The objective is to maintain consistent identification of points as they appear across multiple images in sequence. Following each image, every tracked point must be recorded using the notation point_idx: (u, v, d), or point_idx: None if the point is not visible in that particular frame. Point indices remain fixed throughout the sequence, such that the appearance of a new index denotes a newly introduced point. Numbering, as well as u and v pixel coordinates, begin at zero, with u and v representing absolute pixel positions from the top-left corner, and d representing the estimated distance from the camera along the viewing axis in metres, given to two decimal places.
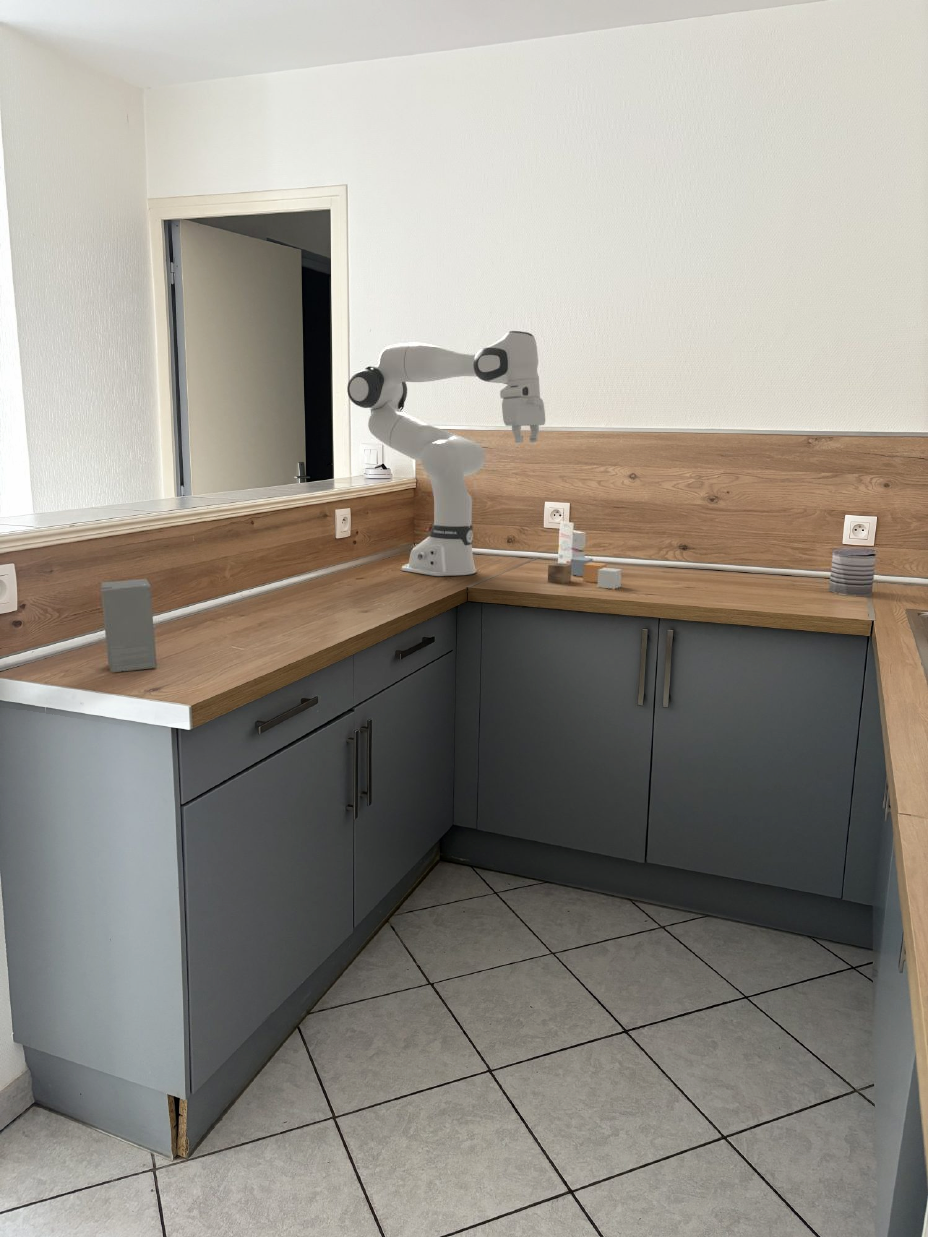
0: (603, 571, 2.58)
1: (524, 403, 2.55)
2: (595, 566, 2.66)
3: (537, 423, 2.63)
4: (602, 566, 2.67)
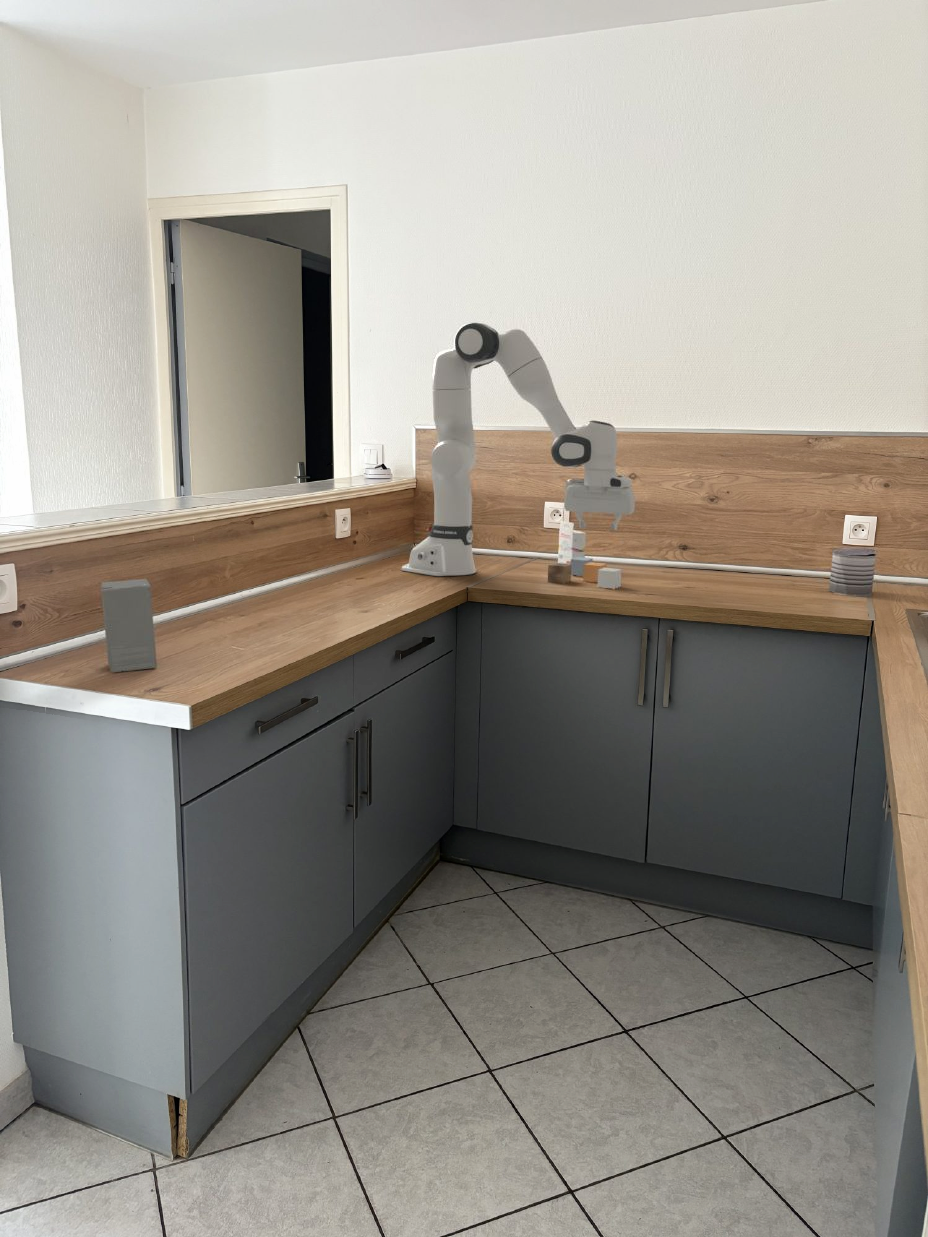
0: (603, 571, 2.58)
1: None
2: (595, 566, 2.66)
3: None
4: (602, 566, 2.67)
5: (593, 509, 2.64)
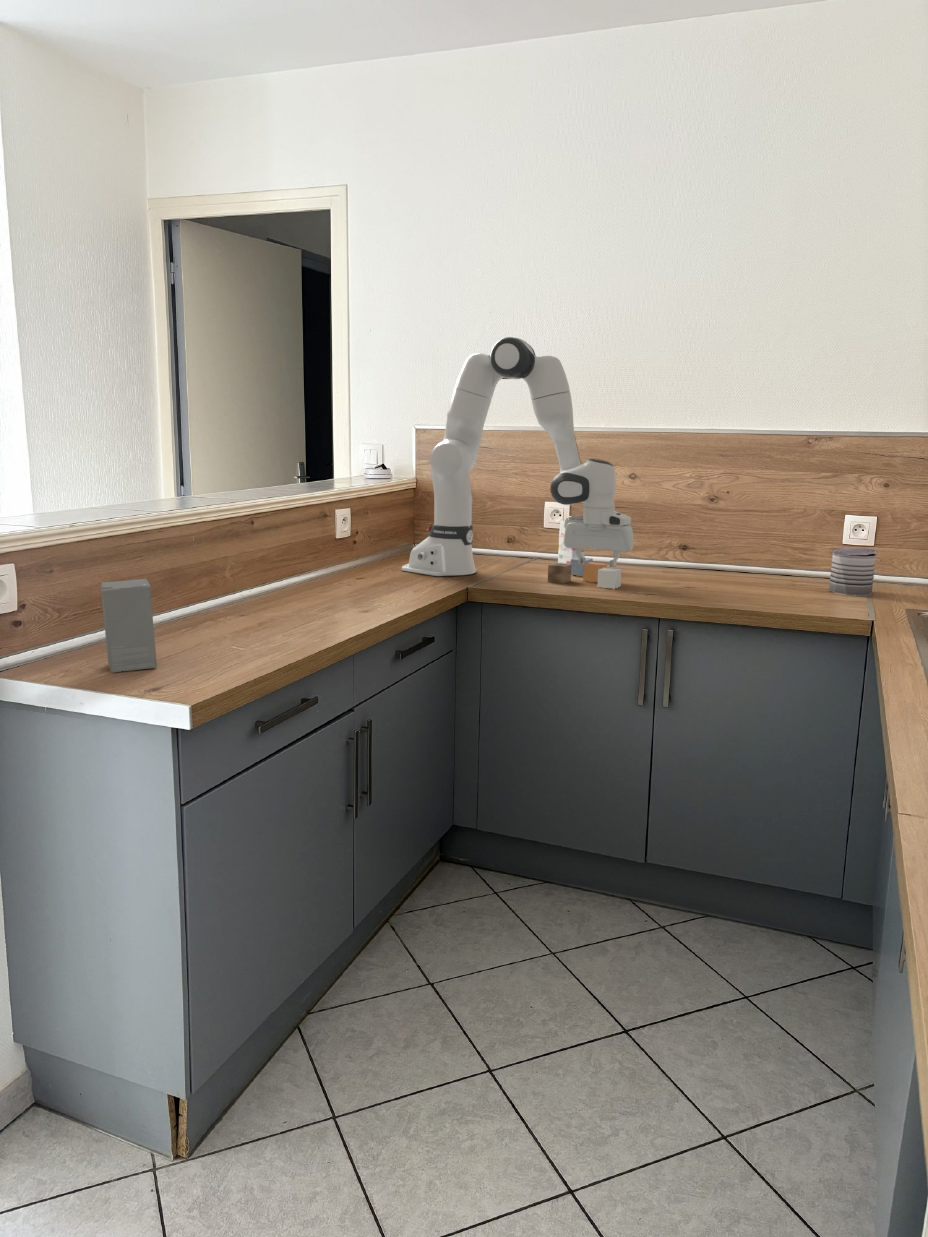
0: (603, 571, 2.58)
1: None
2: (595, 566, 2.66)
3: None
4: (602, 566, 2.67)
5: (592, 546, 2.67)
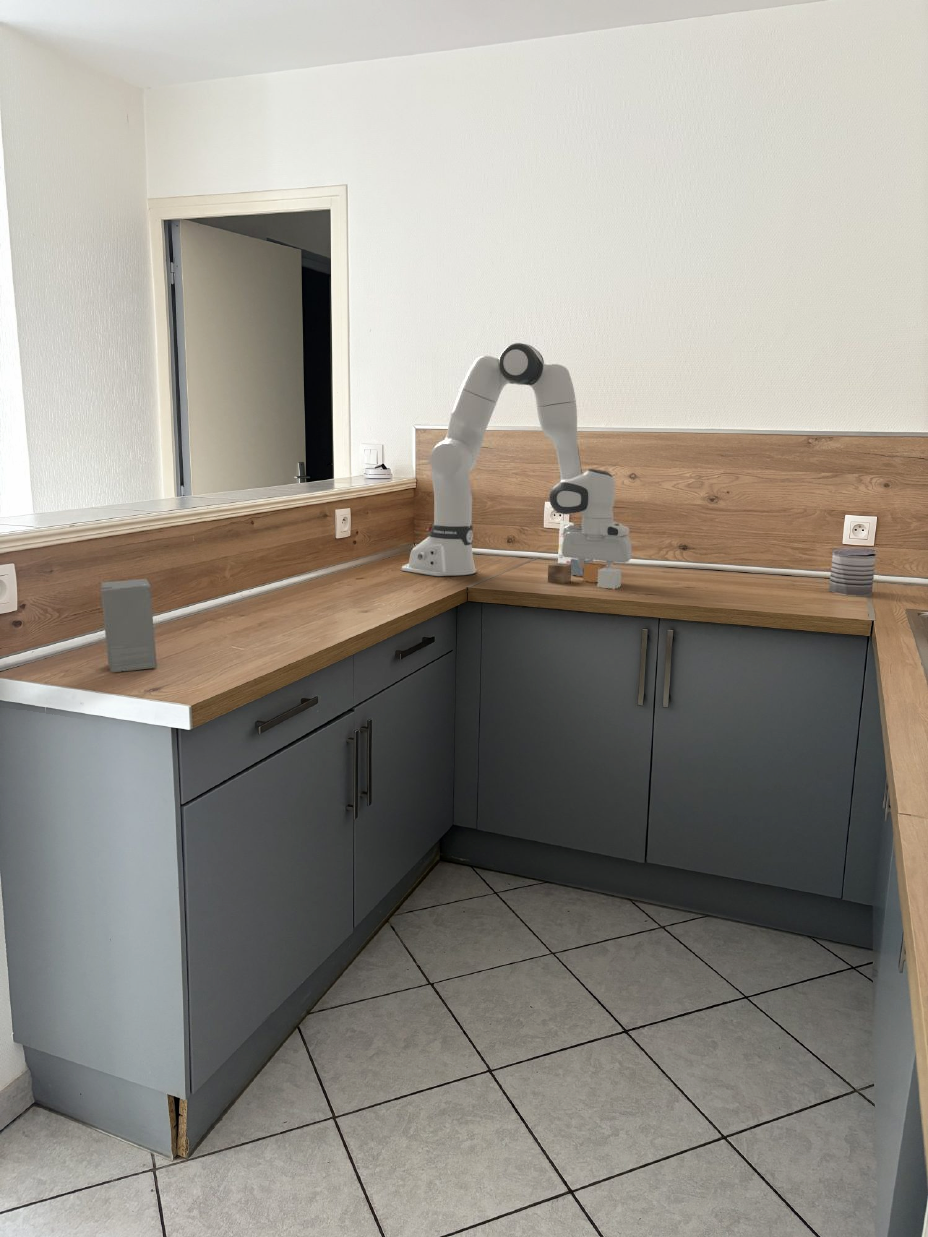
0: (603, 571, 2.58)
1: None
2: (595, 566, 2.66)
3: None
4: (602, 566, 2.67)
5: (590, 556, 2.67)
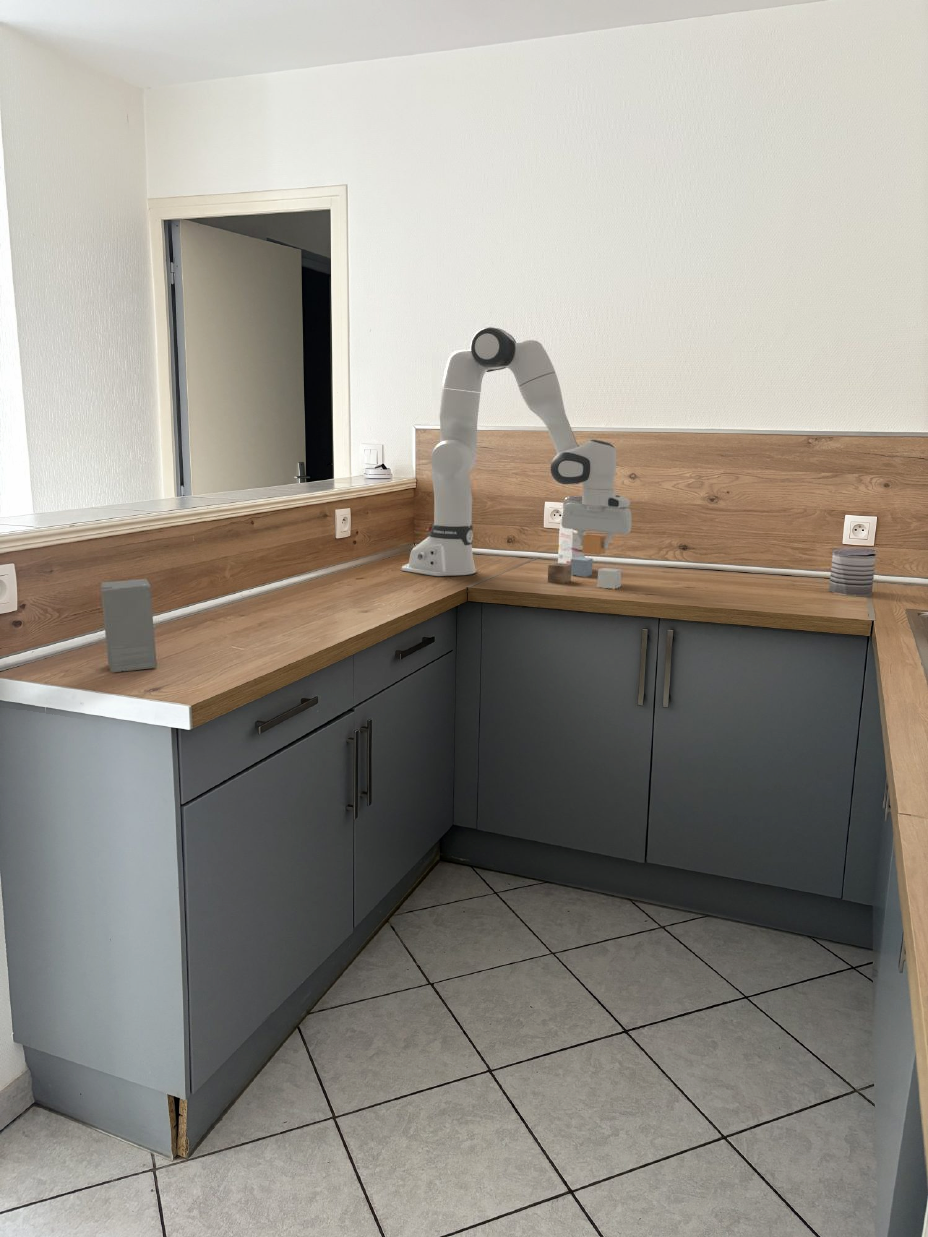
0: (603, 571, 2.58)
1: None
2: (595, 537, 2.65)
3: None
4: (602, 538, 2.65)
5: (590, 527, 2.66)
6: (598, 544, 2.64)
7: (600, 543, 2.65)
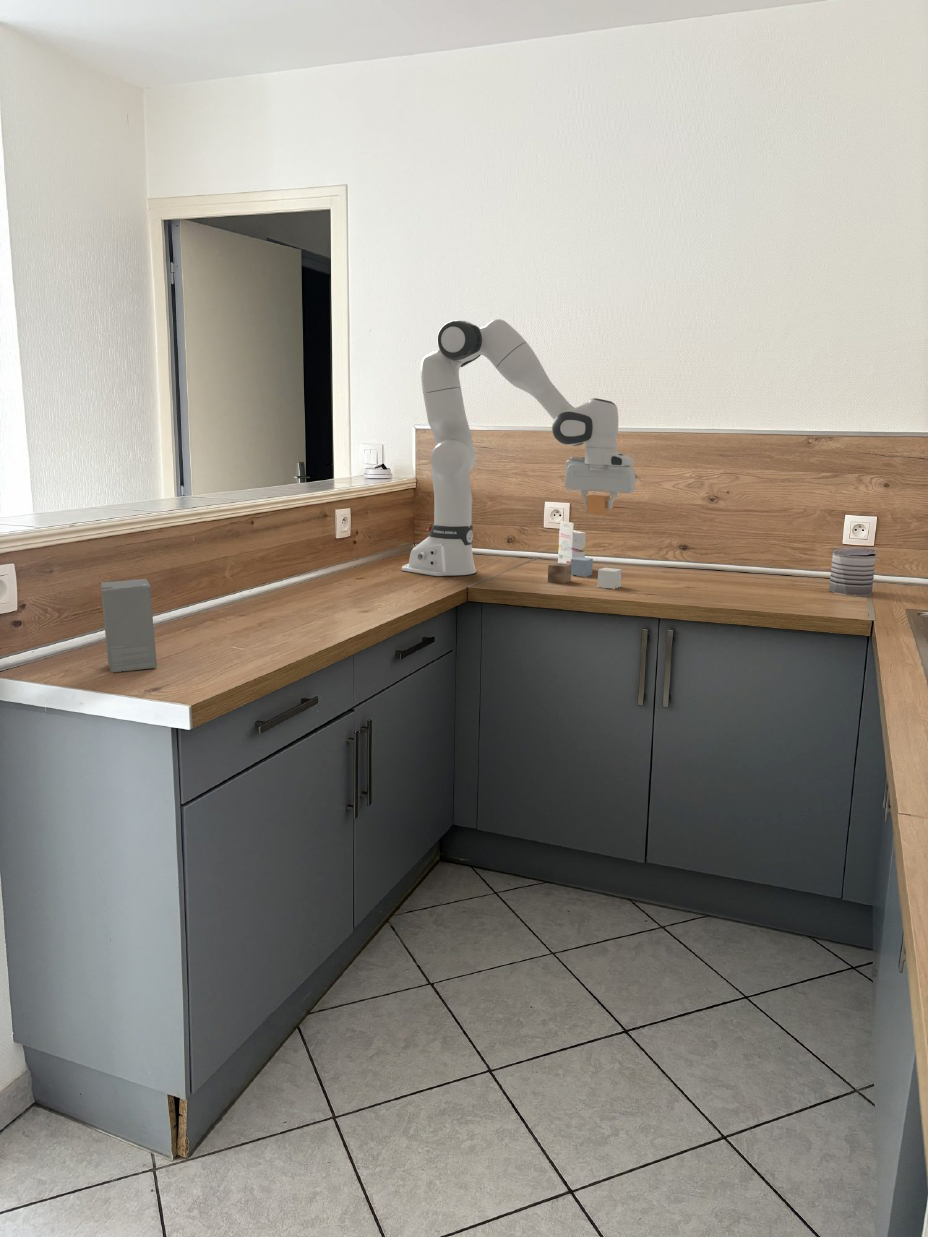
0: (603, 571, 2.58)
1: None
2: (598, 497, 2.62)
3: None
4: (606, 497, 2.63)
5: (593, 487, 2.63)
6: (602, 504, 2.62)
7: (604, 503, 2.62)
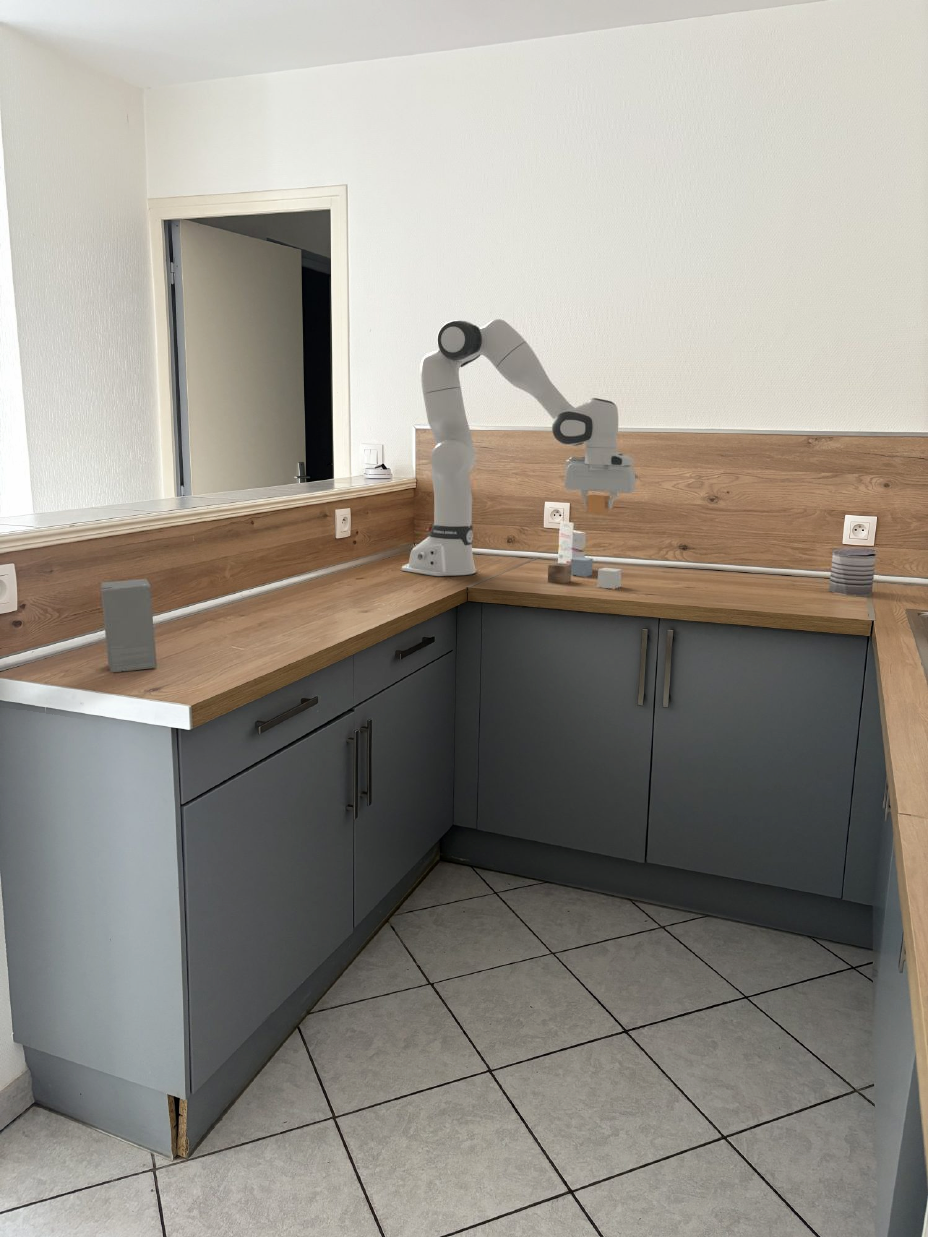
0: (603, 571, 2.58)
1: None
2: (598, 497, 2.62)
3: None
4: (606, 497, 2.63)
5: (593, 487, 2.63)
6: (602, 504, 2.62)
7: (604, 503, 2.62)
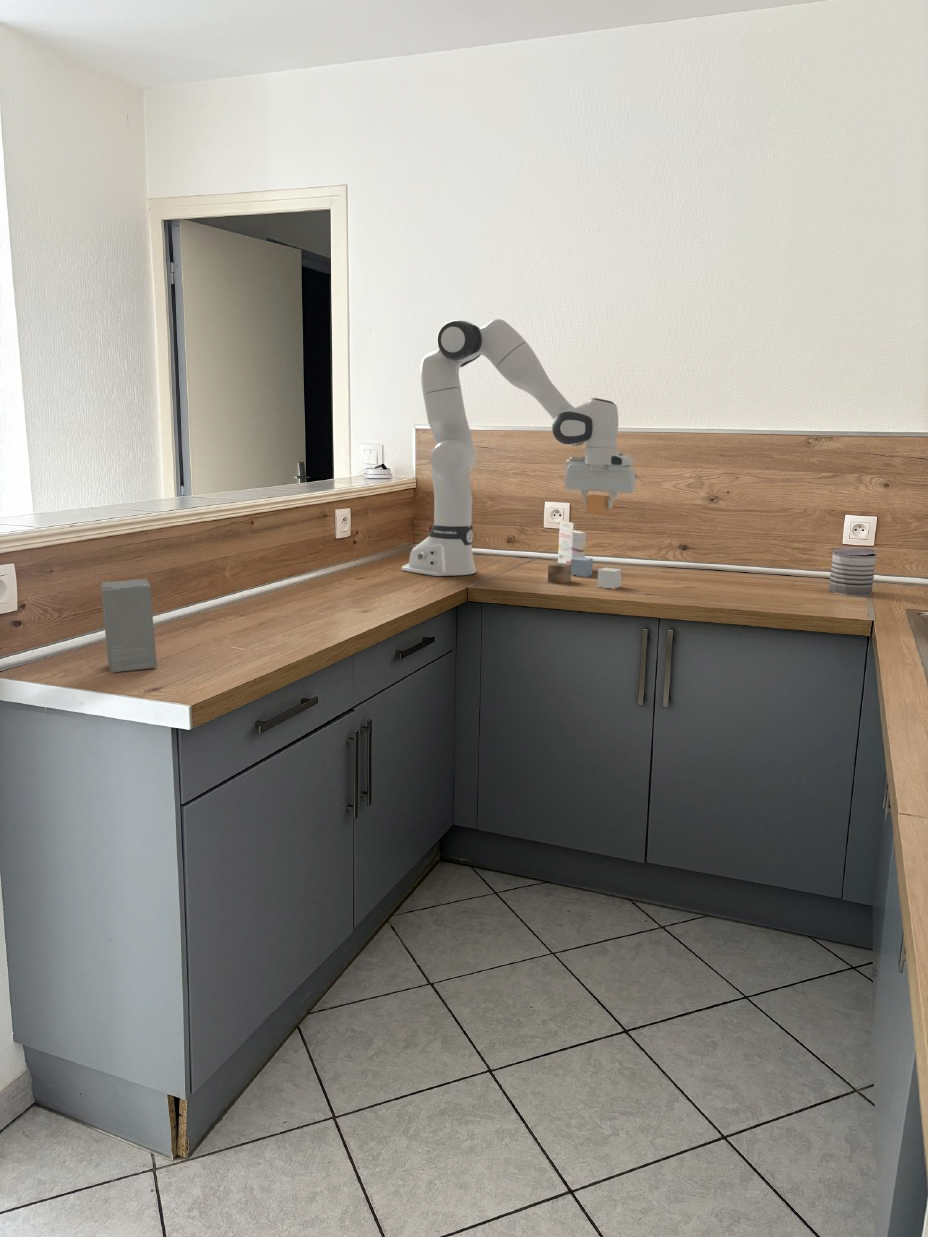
0: (603, 571, 2.58)
1: None
2: (598, 497, 2.62)
3: None
4: (606, 497, 2.63)
5: (593, 487, 2.63)
6: (602, 504, 2.62)
7: (604, 503, 2.62)
